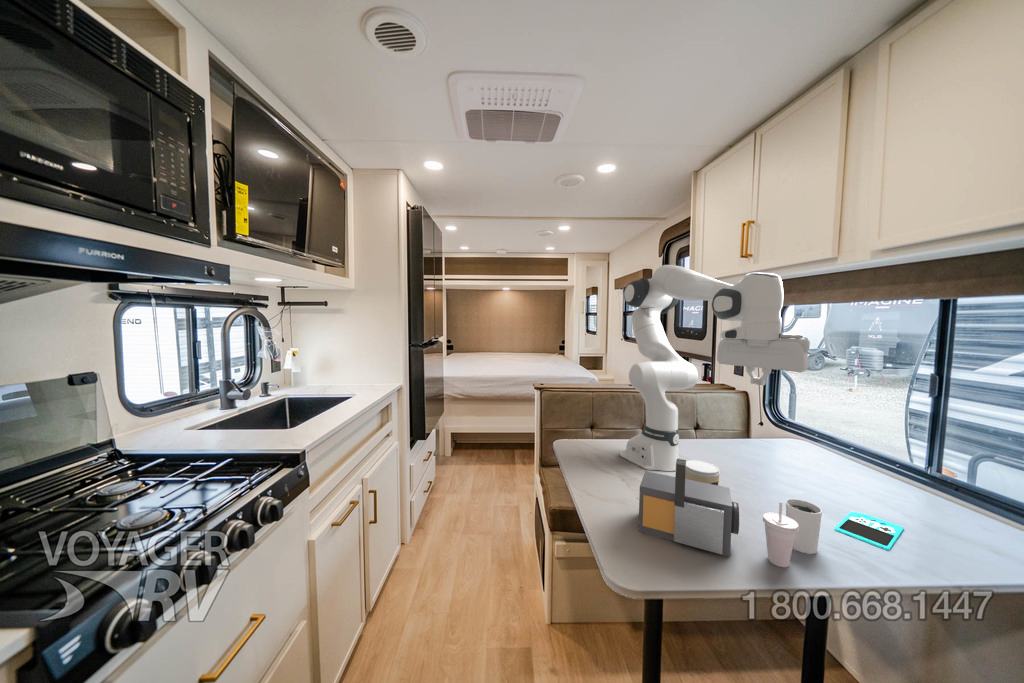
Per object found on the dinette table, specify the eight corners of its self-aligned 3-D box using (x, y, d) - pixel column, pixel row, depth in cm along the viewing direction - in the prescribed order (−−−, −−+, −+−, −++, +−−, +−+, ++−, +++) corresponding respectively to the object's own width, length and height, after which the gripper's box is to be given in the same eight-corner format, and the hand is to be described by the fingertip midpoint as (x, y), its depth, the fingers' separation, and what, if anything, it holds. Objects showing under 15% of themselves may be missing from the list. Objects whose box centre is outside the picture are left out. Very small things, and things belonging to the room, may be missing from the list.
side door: (673, 546, 81) (675, 463, 80) (674, 538, 85) (676, 458, 83) (722, 560, 77) (726, 473, 75) (721, 551, 80) (725, 467, 79)
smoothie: (758, 561, 78) (761, 501, 77) (763, 548, 82) (766, 491, 82) (794, 576, 73) (798, 512, 73) (798, 561, 78) (801, 501, 77)
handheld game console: (905, 531, 90) (905, 526, 90) (889, 554, 81) (890, 548, 81) (852, 513, 98) (852, 509, 98) (833, 532, 90) (833, 527, 90)
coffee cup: (720, 518, 95) (722, 475, 94) (682, 510, 99) (684, 469, 98) (716, 502, 103) (718, 462, 103) (681, 495, 107) (683, 457, 107)
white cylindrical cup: (786, 533, 88) (788, 495, 87) (821, 546, 83) (823, 506, 83) (781, 545, 84) (783, 505, 83) (817, 559, 79) (820, 517, 78)
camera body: (638, 532, 89) (639, 486, 88) (644, 512, 98) (645, 471, 97) (738, 560, 78) (740, 509, 78) (734, 535, 87) (736, 489, 87)
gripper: (814, 334, 86) (811, 389, 86) (725, 331, 102) (723, 377, 103) (805, 334, 82) (802, 392, 83) (715, 332, 99) (713, 380, 100)
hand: (757, 384), depth 93 cm, fingers closed
